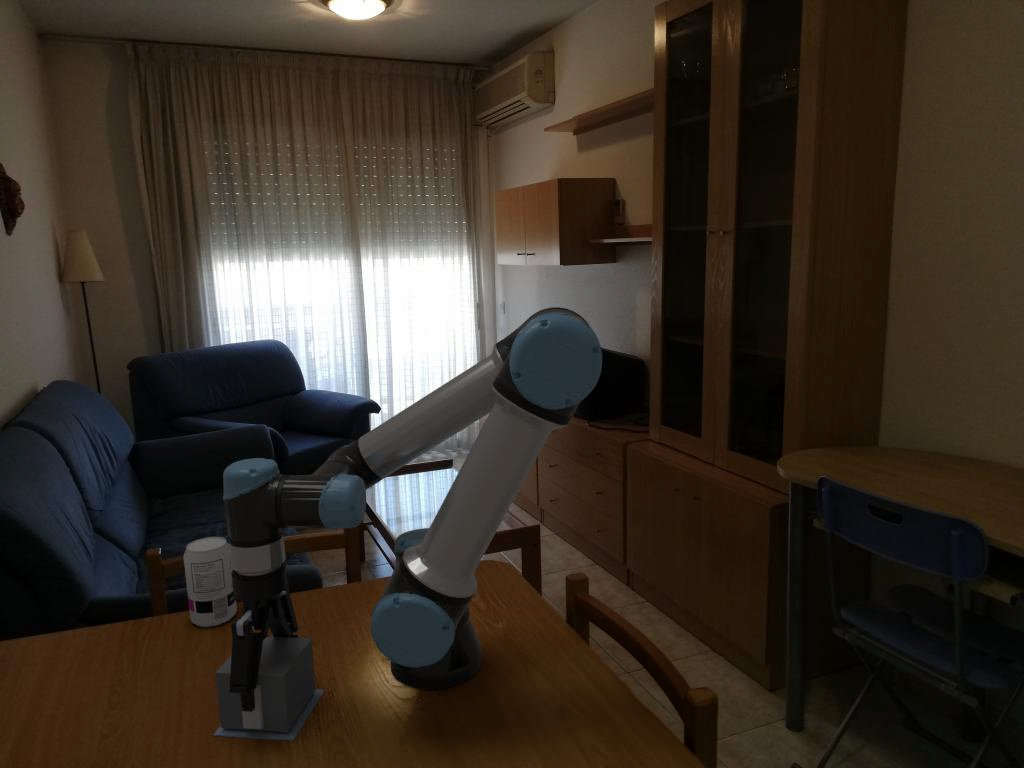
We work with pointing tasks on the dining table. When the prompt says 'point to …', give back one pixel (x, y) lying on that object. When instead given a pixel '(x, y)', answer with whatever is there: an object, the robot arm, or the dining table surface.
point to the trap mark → (272, 734)
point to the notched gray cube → (272, 685)
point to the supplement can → (209, 581)
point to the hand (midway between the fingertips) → (270, 703)
